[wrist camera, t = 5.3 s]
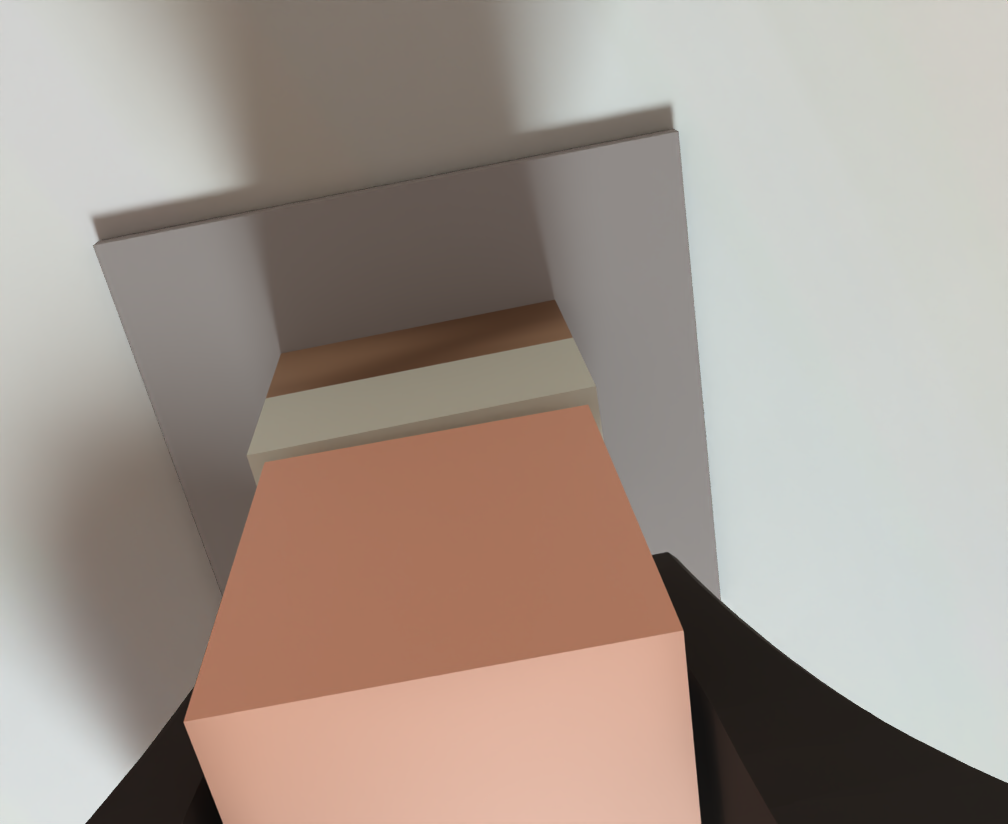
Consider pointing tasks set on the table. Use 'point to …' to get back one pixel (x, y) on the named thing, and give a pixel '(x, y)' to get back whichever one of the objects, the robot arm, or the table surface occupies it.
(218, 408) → the coaster
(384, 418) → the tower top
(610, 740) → the block
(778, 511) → the table surface
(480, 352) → the tower base
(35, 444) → the table surface
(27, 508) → the table surface
